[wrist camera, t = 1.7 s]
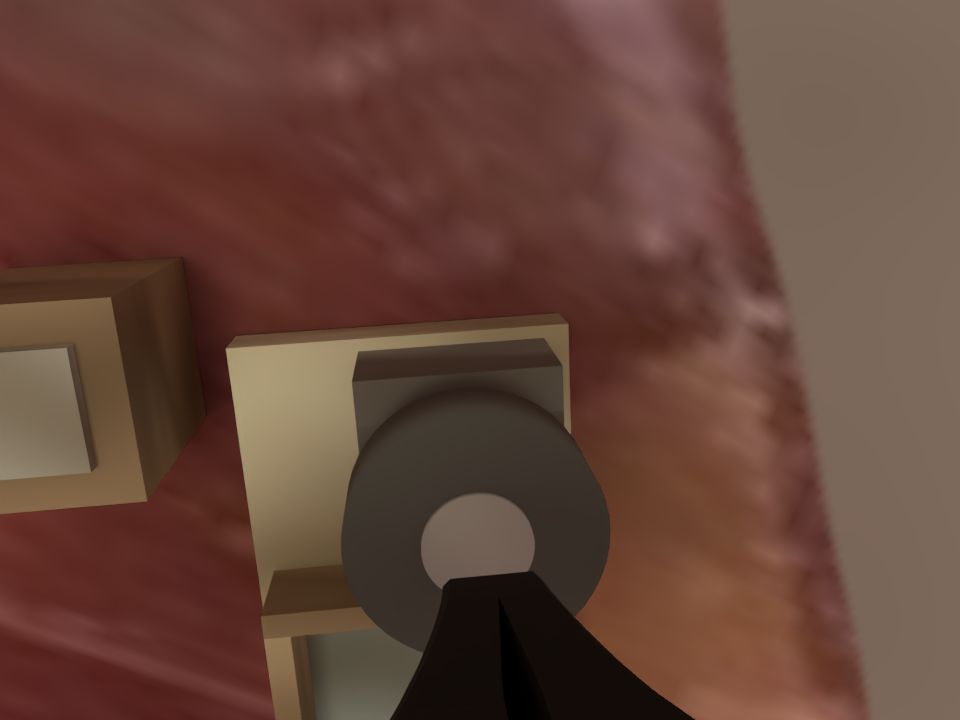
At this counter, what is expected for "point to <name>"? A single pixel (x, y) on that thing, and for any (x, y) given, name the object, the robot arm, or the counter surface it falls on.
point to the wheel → (468, 507)
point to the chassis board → (326, 474)
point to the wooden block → (94, 382)
